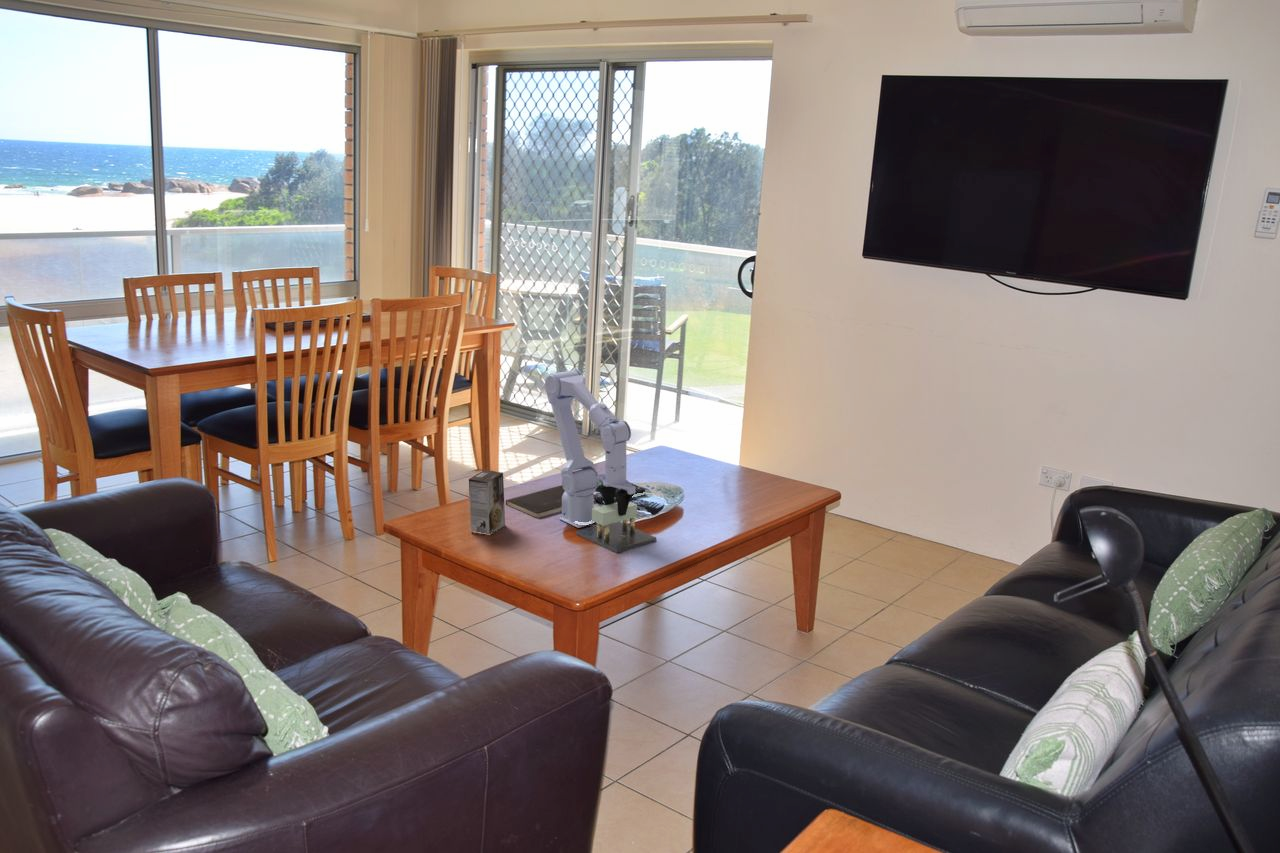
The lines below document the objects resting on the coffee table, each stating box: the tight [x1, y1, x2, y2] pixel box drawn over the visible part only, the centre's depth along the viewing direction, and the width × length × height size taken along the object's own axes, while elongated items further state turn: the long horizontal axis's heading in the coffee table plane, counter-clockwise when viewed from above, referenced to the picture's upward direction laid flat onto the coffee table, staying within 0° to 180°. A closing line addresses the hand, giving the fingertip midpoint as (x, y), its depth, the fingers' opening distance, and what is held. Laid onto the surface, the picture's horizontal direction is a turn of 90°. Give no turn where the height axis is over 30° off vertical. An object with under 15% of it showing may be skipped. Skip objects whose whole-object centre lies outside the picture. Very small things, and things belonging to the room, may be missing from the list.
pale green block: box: [592, 501, 638, 526], centre depth 284 cm, size 5×12×4 cm, turn 130°
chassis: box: [575, 517, 657, 554], centre depth 286 cm, size 18×14×5 cm
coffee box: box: [468, 469, 506, 534], centre depth 290 cm, size 9×6×16 cm
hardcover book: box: [505, 484, 597, 519], centre depth 314 cm, size 16×23×2 cm
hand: (615, 512), depth 284 cm, fingers closed on pale green block, 5 cm apart
